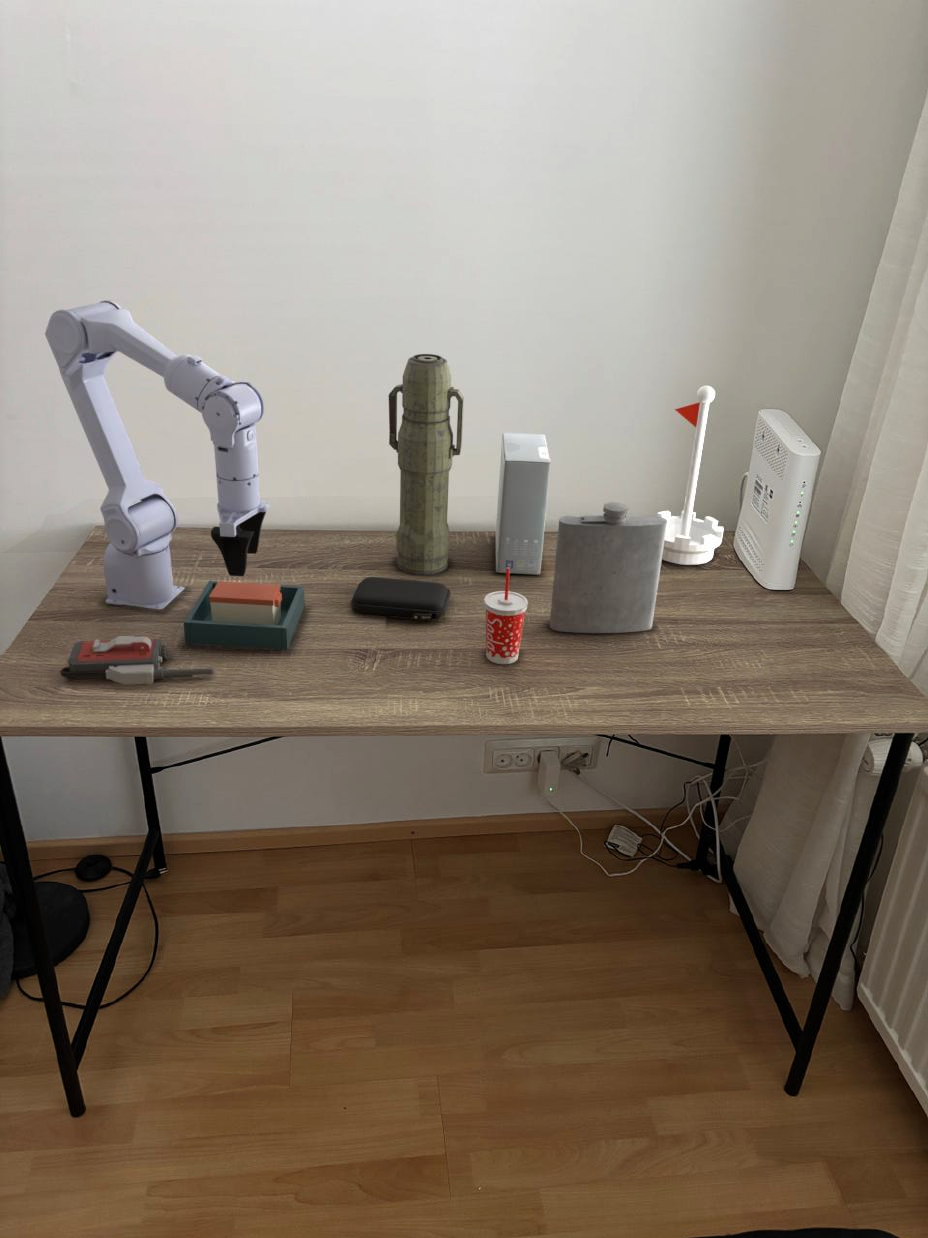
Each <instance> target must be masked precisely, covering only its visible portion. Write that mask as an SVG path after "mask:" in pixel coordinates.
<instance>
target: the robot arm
mask: <svg viewBox="0 0 928 1238" xmlns="http://www.w3.org/2000/svg"><path fill="white" fill-rule="evenodd" d="M45 329H46V330H45V333H44V335H45V338H46V340H47V342H48V345H49V347H50V349H51V353H52V355H53V357H54V359H55V361H56V364H57V366H58V371H59V372H60V376H61V377H60V378H61V379H62V382H63V384H64V387H65V389H66V391H67V393H68V396H69V398H70V401H71V403H72V406H73V408H74V410H75V413H76V415H77V417H78V419H79V423H80V424H81V427H82V429H83V431H84V434H85V436H86V439H87V441H88V444H89V446H90V448H91V450H92V453H93V455H94V458H95V461H96V463H97V464H98V467H99V470H100V472H101V474H102V477H103V479H104V482H105V484H106V486H107V488H108V491H107V494H106V496H105V498H104V499H103V501H102V504H101V506H100V508H99V509H100V512H101V514H102V518H103V521H104V522H103V523H104V532H105V535H106V537H107V539H108V541H109V544H108V545H107V547H106V549H105V551H104V555H103V571H104V579H105V586H106V594H107V598H106V599H105V604H107V605H112V606H113V605H114V606H120V607H122V605H126V606H133V607H140V608H141V607H142V608H146V609H153V610H163V609H164V608H165V607H166V606H168V605H169V604H170V603H171V602H172V601H173V600H174V599H175V598H176V597H178V595H179V594H181V593H182V591H184V590H185V586H179V585H174V579H173V570H172V559H171V550H170V542H171V541H172V540H173V537H172V533H173V532H175V531H176V529H177V528H178V524H179V516H178V511H177V509H176V508H175V506H174V505H173V502H171V501H170V500H169V498H168V497H167V495H166V494H165V492H164V489H163V487H162V485H161V484H159V483H157V482H154V481H152V480H150V479H148V478H146V477H145V475H144V472H143V470H142V468H141V464H140V463H139V460H138V458H137V455H136V452H135V450H134V448H133V445H132V443H131V440H130V437H129V435H128V432H127V430H126V428H125V425H124V422H123V421H122V418H121V416H120V413H119V411H118V408H117V406H116V403H115V400H114V399H113V396H112V393H111V391H110V389H109V386H108V384H107V381H106V379H105V375H104V374H105V372H106V369H107V367H108V364H109V362H110V361H111V360H112V359H113V357H114V356H115V355H116V354H117V353H121V354H122V355H124V356H126V357H127V358H129V359H130V360H133V361H134V362H136V363H138V364H140V365H141V366H143V367H145V368H146V369H148V370H150V371H151V372H154V373H155V374H157V375H159V376H160V377H162V378H163V383H164V387H165V389H166V390H167V391H168V392H169V393H171V394H172V395H174V396H175V397H177V398H178V399H180V400H181V401H183V402H184V403H185V404H187V405H189V406H190V407H191V408H193V409H194V410H196V411H197V412H198V413H200V414H201V417H202V419H203V422H204V424H205V426H206V427H207V429H208V431H209V433H210V441H212V444H213V448H214V449H213V451H214V463H215V478H216V489H217V490H216V491H217V500H218V501H217V504H216V507H217V508H216V509H217V514H218V516H219V526H213V527H212V529H211V530H210V538H211V539H212V541H213V542H214V543H215V545H216V546H217V547H218V549H219V551H220V553H221V556H222V559H223V562H224V565H225V568H226V570H227V573H228V575H229V576H230V577H245V575H246V572H247V566H248V565H247V564H248V554H250V555H256V554H257V553H258V550H259V545H260V538H261V532H262V526H263V523H264V519H265V516H266V514H267V512H268V511H269V509H270V503H269V502H264V501H262V500H261V490H260V475H259V474H260V473H259V453H258V437H257V423H258V422H259V421H260V420H261V419H262V418H263V416H264V413H265V404H264V400H263V397H262V395H261V393H260V392H259V391H258V389H256V388H255V387H254V386H253V385H252V384H251V382H248V381H245V380H241V381H240V380H239V381H234V380H232V379H231V380H230V377H228V376H226V375H224V374H223V375H222V374H220V373H219V372H217V370H215V369H213V368H211V367H210V366H208V365H207V364H206V363H204V362H203V358H202V357H200V356H199V355H197V354H188V353H187V354H181V355H177V354H176V353H174V352H173V351H172V350H170V349H169V348H168V347H167V346H165V345H164V344H163V343H162V342H161V341H159V340H158V339H157V338H155V337H154V336H153V335H151V334H150V333H149V332H147V330H145V329H143V328H142V327H141V326H139V325H138V324H137V323H136V322H135V321H134V319H133V316H132V314H131V312H130V311H129V310H128V309H125V308H124V307H121V306H120V304H118V303H117V302H115V301H113V300H109V299H106V300H101V301H99V302H96V303H91V304H87V305H82V306H78V307H73V308H69V309H65V308H64V309H58V310H55V311H54V312H53V313H52V314H51V315H50V318H49V320H48V322H47V326H46V328H45Z"/></svg>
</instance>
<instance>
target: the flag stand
mask: <svg viewBox="0 0 928 1238" xmlns="http://www.w3.org/2000/svg"><path fill="white" fill-rule="evenodd" d="M715 397H716V391H715V389H714V388H713V387H712V386H710V385H703V386H701V387H700V388H698V390H697V392H696V398H697V400H698V401H699V402H696V403H693V404H688V405H685V406H682V407H679V408H675V409H674V411H676V412H677V413H678V414H679V415H680V416H681V417H683V418H684V419H685V420H686V421H687V422H689V424H691V425H692V426H693V427H694V428H695V433H694V439H693V440H694V441H693V447H692V453H691V459H690V465H689V472H688V478H687V484H686V491H685V498H684V504H683V510H681V513H680V515H672V512H671V511H670V510H664V511H663V510H662V511H659V512H657V513H656V516H658V517H662V518H665V519H666V520H667V526H666V533H665V540H664V547H663V554H662V561H665V562H669V563H673V564H678V565H685V566H696V565H702V564H706V563H708V562H709V561H711V560H712V559H713V557H714V552H715V549H716V548H718V547H720V545H721V544H722V541H723V535H724V526H719V520H717V519H715V518H714V517H712V516H705V517H704V520H703V519H700V518H696V514H697V513H696V512H695V511H694V503H695V497H696V491H697V490H696V489H697V484H698V477H699V472H700V471H699V470H700V466H701V459H702V452H703V445H704V440H705V434H706V426H707V420H708V413H709V408H710V403H712V402H713V401H714V399H715Z"/></svg>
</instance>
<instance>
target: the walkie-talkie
mask: <svg viewBox="0 0 928 1238" xmlns="http://www.w3.org/2000/svg"><path fill="white" fill-rule="evenodd" d="M167 649H168V648H167V645H166V644H162V638H161V639H160V638H151V637H149V636H148V635H134V636H133V635H118V636H116V637H114V638H113V639H111V640H100V639H97V638H96V639H94V640H85V641H77V642H74V643H73V646H72V649H71V651H70V654H69V657H68V666H66V667H63V668H61V669H60V676H61V677H64V678H73V679H74V680H76V679H79V680H80V679H94V678H95V679H98V678H105V679H106V680H111V681H113V682H116V683H118V684H120V685H143V684H146V685H153V684H154V681H155V680H164V679H170V678H171V679H172V678H190V677H191V678H192V677H193V676H198V675H214V674H215V670H214V668H212V667H209V668H208V667H207V668H206V667H205V668H185V669H184V668H183V669H182V668H181V669H163V666H161V664H162V663H163V660H165V661H166V660H167V659H168V650H167Z"/></svg>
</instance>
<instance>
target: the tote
mask: <svg viewBox="0 0 928 1238" xmlns="http://www.w3.org/2000/svg"><path fill="white" fill-rule="evenodd" d="M218 581H219V580H208V582H207V583H206V585H205V587H204V588H203V590H202V591H201V593H200V595H199V596H198V597H197V599H196V601H195V603H194V604H193V606H192V608H191V610H190V611H189V613H188V614H187V616H186V618H185V619H184V620H183V630H184V632H183V633H184V639H185V645H199V646H200V645H202V646H219V647H220V646H221V647H236V648H252V649H253V648H254V649H269V650H271V649H272V650H286V651H287V650H288V649H289V647H290V645H291V644H290V643H291V642H292V639H293V637H294V634H295V632H296V630H297V627H298V624H299V621H300V619H301V617H302V614H303V612H304V609H305V607H306V606H305V605H306V603H305V586H304V585H290V584H279V585H280V593H282V600H281V603H280V604H281V619H280V621H279V623H278V625H266V624H248V623H231V622H214V621H212V615H211V603H210V601H209V595H210V594H211V592H212V590H213V589H214V588H215V586H216V585H217V583H218Z"/></svg>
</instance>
